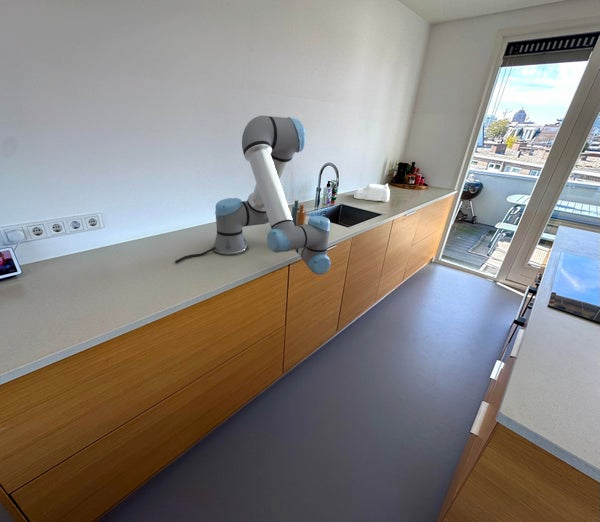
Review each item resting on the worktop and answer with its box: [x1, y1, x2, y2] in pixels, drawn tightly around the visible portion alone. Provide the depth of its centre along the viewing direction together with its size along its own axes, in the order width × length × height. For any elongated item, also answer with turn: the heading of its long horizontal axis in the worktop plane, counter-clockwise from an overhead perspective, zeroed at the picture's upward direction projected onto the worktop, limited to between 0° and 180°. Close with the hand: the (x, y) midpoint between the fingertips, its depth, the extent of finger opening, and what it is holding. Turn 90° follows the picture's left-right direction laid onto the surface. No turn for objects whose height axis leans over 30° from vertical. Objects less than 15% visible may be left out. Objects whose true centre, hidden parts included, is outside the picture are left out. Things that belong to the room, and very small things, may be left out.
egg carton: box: [353, 183, 391, 203], centre depth 251 cm, size 19×30×13 cm, turn 76°
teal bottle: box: [290, 199, 300, 226], centre depth 166 cm, size 5×5×16 cm
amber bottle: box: [296, 203, 307, 226], centre depth 158 cm, size 5×5×16 cm
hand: (290, 230), depth 129 cm, fingers open, 13 cm apart
